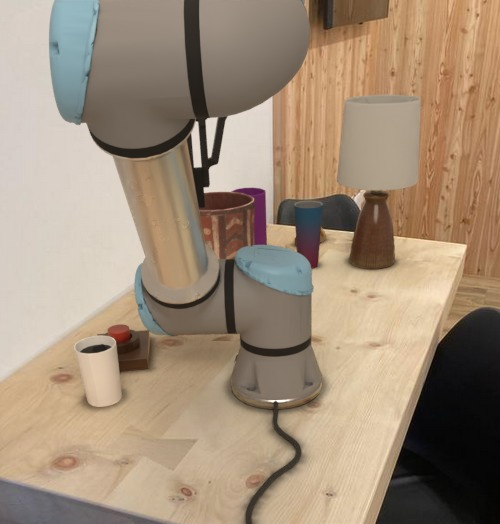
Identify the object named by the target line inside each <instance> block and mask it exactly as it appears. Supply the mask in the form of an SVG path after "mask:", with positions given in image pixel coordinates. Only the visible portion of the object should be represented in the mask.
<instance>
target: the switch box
mask: <svg viewBox="0 0 500 524" xmlns="http://www.w3.org/2000/svg"><path fill="white" fill-rule="evenodd" d="M100 335H102V336H108V331H107V332H105V333H97V335H96V336H100ZM130 335H131V339H129V340H127V341H124V342H118V343H116V346H117V355H118V363H119V372H124V371H125V372H127V371H137V370H140V371H141V370H149V363H150V352H151V351H150V350H151V332H149V331H148V330H147V329H146V330H134V329H130Z"/></svg>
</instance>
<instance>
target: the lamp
mask: <svg viewBox="0 0 500 524" xmlns="http://www.w3.org/2000/svg"><path fill="white" fill-rule="evenodd" d="M421 107H422V98H421V97H419V96H416V95H408V94H407V95H406V94H368V95H359V96H352V97H347V98H345V99H344V104H343V114H342V122H341V123H342V124H341V136H340V143H339V144H340V145H339V155H338V166H337V177H336V182H337V184H338V185H339V186H342V187H345V188H348V189H354V190H360V191H365V192H364V193H363V195H362V196H363V198H364V204H363V205H362V207H361V209H360V212H359V214H358V216H357V219H356V222H355V226H354V230H353V234H352V235H353V237H352V239H351V245H350V251H349V263H351V265H353V266H354V267H357V268H361V269H366V270H379V269H385V268H388V267H390V266H391V267H392V266H393V264H394V263H395V260H396V253H395V250H396V248H395V247H396V245H395V236H394V235H395V233H394V225H393V218H392V215H391V211H390V209H389V205H388V203H387V200H388V198H389V197H390V194H389V192H387V191H394V190H402V189H407V188H411V187H413V186H416V185H417V184H418V183H419V170H420V169H419V166H420V141H421V140H420V136H421V132H420V131H421Z"/></svg>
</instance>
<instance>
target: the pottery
mask: <svg viewBox="0 0 500 524" xmlns="http://www.w3.org/2000/svg"><path fill="white" fill-rule="evenodd" d="M204 199H205V207H204V208H199V212H200V218H201V223H202V229H203V234H204V240H205V243H206V244H207V245H208V246H210V247H211V248H212V250H213V251H214V252H215V254H216V255H217V258H218V259H235V255H236V253H237V251H238V250H239V249H241V248H243V247H246V246H250V247H251V246H252V245H254V211H255V198H253V197H251V196H250V195H247V194H243V193H237V192H231V191H209V192H204Z"/></svg>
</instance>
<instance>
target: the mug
mask: <svg viewBox="0 0 500 524" xmlns="http://www.w3.org/2000/svg"><path fill="white" fill-rule="evenodd" d="M230 192H237V193H243V194H247V195H250V196H251V197H253V198H255V211H254V245H268V244H267V243H268V239H267V238H268V232H267V196H266V192H267V191H266V190H265V189H263V188H260V187H241V188H236V189H234V190H231V191H230Z"/></svg>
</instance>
